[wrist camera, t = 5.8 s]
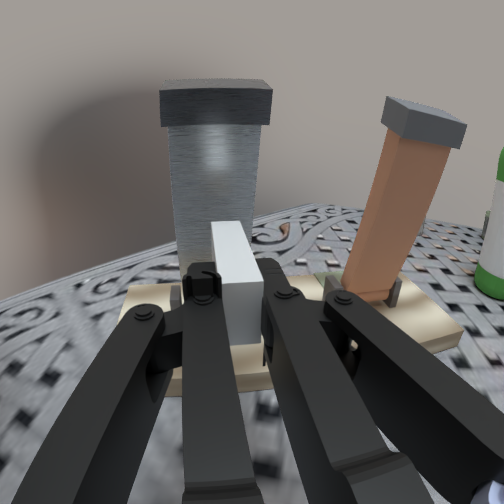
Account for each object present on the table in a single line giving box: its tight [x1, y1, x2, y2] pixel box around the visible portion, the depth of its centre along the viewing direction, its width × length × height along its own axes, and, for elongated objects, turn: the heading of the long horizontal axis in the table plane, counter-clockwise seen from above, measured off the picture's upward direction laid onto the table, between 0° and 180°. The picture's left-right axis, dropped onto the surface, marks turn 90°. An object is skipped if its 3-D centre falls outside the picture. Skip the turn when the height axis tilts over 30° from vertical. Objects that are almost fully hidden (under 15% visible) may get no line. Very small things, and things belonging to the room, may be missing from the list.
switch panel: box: [117, 271, 464, 397], centre depth 28 cm, size 14×32×5 cm, turn 99°
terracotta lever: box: [340, 96, 467, 302], centre depth 23 cm, size 3×6×19 cm, turn 99°
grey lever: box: [159, 79, 273, 290], centre depth 21 cm, size 3×6×19 cm, turn 99°
